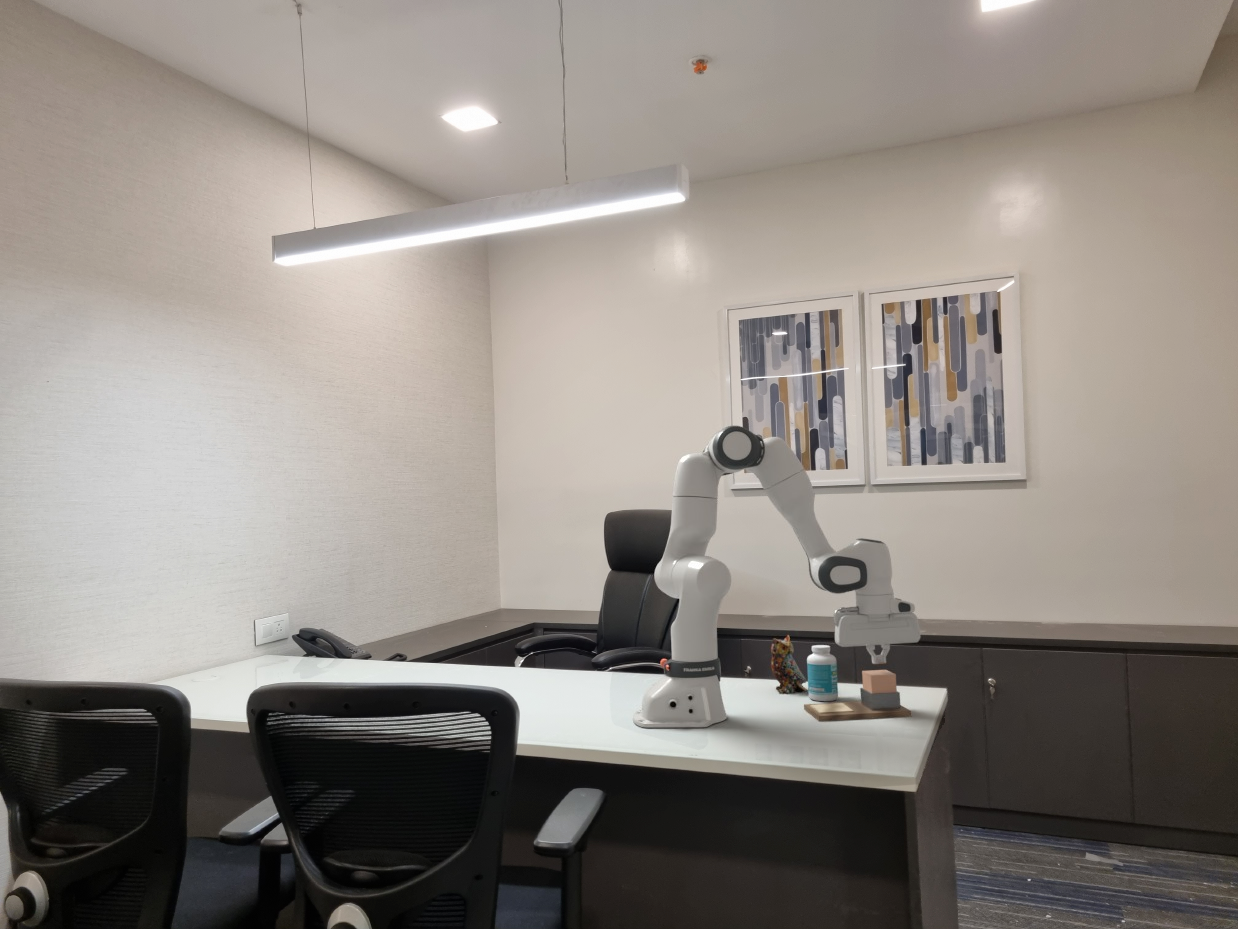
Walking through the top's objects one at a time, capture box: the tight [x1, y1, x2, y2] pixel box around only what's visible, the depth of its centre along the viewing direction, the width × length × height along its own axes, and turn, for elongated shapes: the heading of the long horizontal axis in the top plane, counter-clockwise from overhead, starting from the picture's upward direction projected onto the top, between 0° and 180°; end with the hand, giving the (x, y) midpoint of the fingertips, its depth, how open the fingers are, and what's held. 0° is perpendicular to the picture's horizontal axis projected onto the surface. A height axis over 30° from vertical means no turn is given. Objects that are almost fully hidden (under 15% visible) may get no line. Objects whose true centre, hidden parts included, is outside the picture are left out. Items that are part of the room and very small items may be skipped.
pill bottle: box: [806, 644, 839, 702], centre depth 215 cm, size 8×7×14 cm
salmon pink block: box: [861, 669, 897, 694], centre depth 200 cm, size 6×6×4 cm
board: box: [803, 700, 912, 722], centre depth 199 cm, size 22×12×2 cm, turn 94°
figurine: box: [770, 634, 808, 695], centre depth 226 cm, size 9×9×15 cm
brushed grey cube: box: [859, 687, 901, 710], centre depth 200 cm, size 7×7×6 cm
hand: (879, 663), depth 201 cm, fingers closed
